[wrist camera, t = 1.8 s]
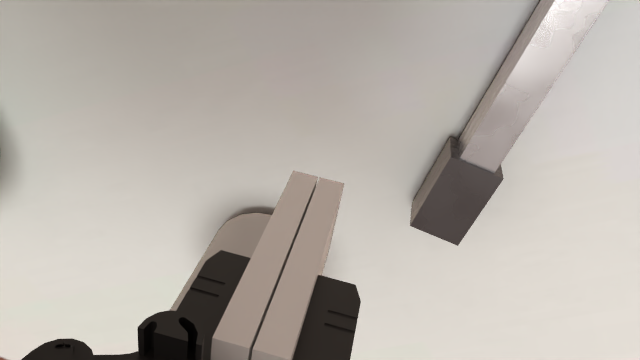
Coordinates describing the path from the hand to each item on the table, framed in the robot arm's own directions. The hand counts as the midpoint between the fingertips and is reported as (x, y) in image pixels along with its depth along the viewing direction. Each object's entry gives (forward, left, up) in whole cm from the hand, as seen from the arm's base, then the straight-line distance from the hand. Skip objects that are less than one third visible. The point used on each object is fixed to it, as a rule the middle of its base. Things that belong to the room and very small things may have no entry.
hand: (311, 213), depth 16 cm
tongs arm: (+1, +9, -14) cm, 17 cm away
